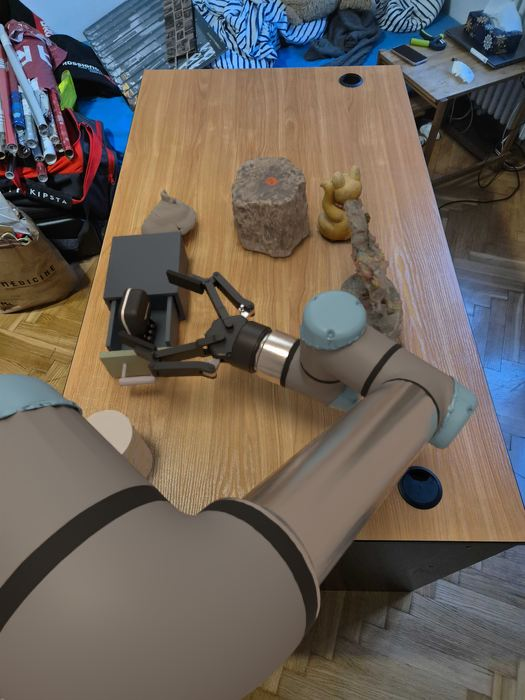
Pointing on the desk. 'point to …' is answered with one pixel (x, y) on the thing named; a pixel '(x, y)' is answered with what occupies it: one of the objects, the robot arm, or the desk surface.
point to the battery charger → (137, 315)
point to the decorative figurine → (339, 203)
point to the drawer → (123, 357)
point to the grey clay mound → (169, 217)
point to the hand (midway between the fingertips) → (145, 305)
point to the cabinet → (147, 267)
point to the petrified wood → (270, 205)
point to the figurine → (372, 277)
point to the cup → (123, 438)
